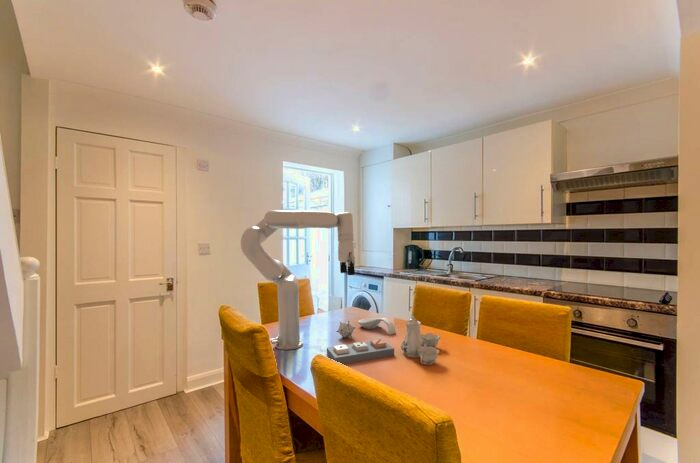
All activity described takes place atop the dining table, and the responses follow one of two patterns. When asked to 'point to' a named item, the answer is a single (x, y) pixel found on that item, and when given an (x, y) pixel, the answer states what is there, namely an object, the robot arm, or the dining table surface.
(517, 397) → the dining table surface
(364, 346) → the button two
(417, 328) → the chinaware
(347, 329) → the spiky ball
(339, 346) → the button one
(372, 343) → the button three
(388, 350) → the button panel
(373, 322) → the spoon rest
